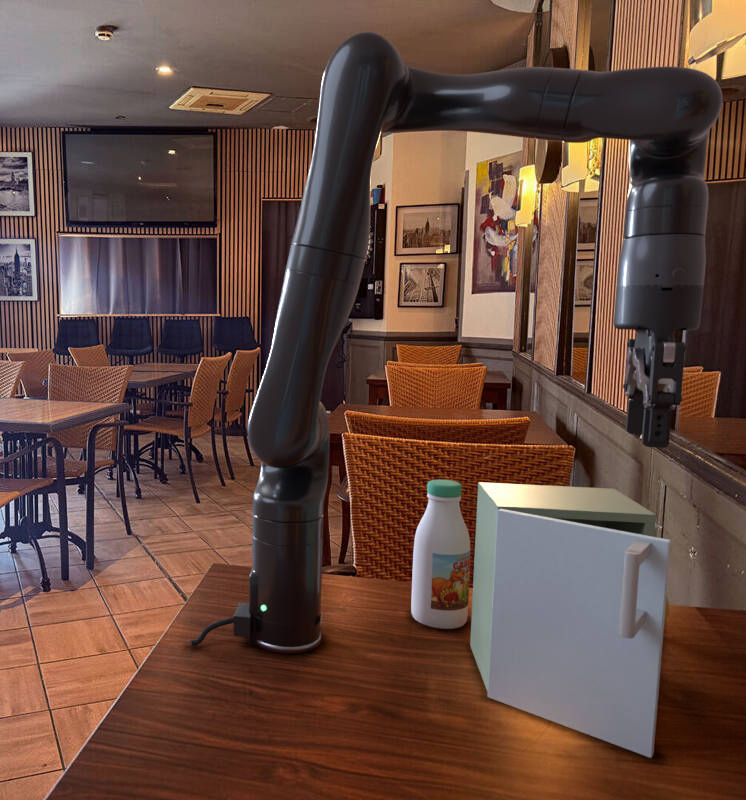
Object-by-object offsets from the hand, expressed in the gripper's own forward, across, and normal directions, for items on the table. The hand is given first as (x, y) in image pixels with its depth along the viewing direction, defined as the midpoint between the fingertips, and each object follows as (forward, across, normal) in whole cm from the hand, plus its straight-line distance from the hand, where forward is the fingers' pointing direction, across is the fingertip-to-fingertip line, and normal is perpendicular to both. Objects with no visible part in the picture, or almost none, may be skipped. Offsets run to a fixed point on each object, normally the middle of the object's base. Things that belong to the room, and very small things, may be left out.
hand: (645, 440), depth 72 cm
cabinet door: (+30, +8, -7) cm, 32 cm away
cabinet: (+30, -6, -7) cm, 31 cm away
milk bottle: (+30, -18, -20) cm, 41 cm away
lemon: (+30, -23, +6) cm, 39 cm away
